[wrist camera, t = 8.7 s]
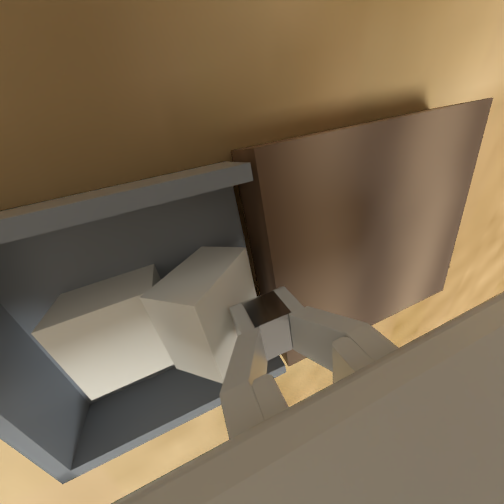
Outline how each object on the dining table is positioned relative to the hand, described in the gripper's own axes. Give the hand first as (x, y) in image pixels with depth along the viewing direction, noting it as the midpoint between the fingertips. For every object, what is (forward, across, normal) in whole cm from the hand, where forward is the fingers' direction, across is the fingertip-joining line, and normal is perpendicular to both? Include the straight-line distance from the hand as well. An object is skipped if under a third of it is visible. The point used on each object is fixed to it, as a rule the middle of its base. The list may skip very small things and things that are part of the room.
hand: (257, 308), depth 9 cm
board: (+4, -8, 0) cm, 9 cm away
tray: (+4, +5, 0) cm, 6 cm away
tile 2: (+2, +3, 0) cm, 3 cm away
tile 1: (+1, +6, 0) cm, 6 cm away
